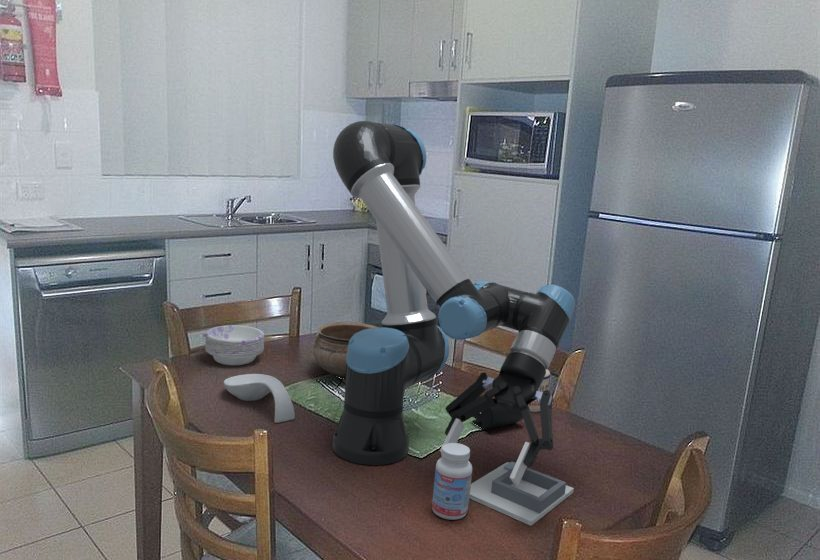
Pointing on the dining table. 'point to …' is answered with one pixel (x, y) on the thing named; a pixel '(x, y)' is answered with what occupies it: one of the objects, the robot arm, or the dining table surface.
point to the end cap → (497, 417)
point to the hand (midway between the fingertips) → (477, 468)
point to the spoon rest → (262, 392)
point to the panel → (519, 493)
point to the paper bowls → (234, 344)
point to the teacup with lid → (544, 386)
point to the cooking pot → (335, 345)
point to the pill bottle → (452, 482)
